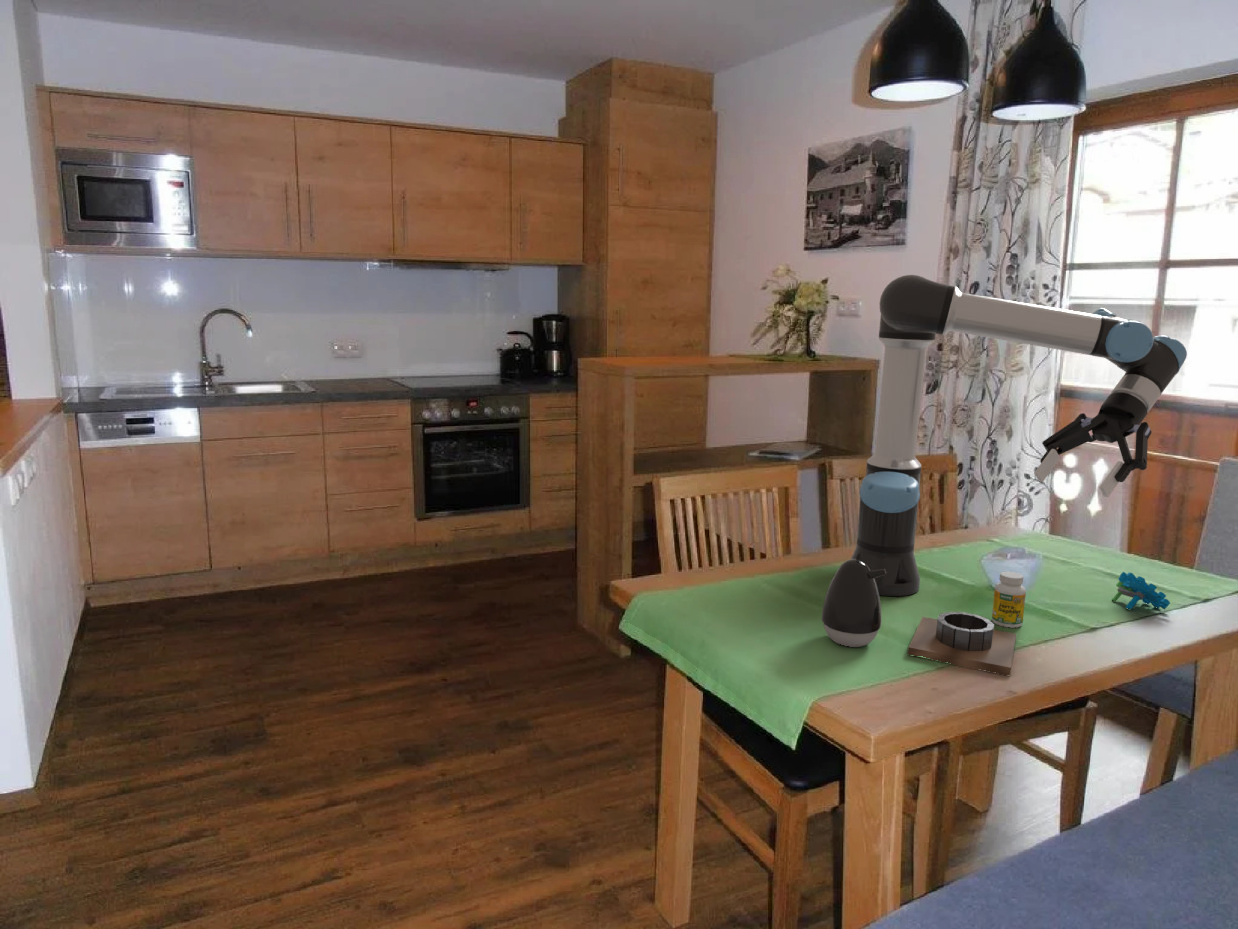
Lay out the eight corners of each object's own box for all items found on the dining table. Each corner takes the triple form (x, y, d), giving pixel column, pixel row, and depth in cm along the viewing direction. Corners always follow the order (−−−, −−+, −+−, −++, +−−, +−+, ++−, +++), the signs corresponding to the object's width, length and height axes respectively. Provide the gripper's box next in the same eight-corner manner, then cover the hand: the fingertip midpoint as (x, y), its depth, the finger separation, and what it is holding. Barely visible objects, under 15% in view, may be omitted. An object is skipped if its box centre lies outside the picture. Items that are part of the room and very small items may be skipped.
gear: (1182, 609, 163) (1151, 574, 162) (1162, 631, 163) (1131, 597, 161) (1138, 596, 174) (1109, 564, 172) (1120, 617, 174) (1090, 585, 172)
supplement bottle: (1020, 619, 161) (1025, 572, 159) (1024, 630, 156) (1030, 581, 154) (989, 616, 162) (994, 568, 160) (992, 626, 157) (998, 577, 155)
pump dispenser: (871, 658, 142) (878, 573, 139) (812, 644, 147) (817, 562, 144) (887, 638, 151) (894, 557, 148) (830, 625, 156) (836, 547, 153)
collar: (932, 644, 145) (934, 625, 144) (939, 626, 153) (941, 608, 152) (989, 655, 141) (991, 635, 140) (993, 636, 148) (995, 618, 148)
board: (907, 655, 144) (908, 647, 143) (921, 624, 157) (922, 616, 157) (1009, 676, 136) (1010, 667, 136) (1015, 641, 150) (1016, 633, 150)
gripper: (1201, 425, 155) (1141, 511, 151) (1076, 408, 177) (1020, 483, 173) (1189, 397, 152) (1126, 485, 148) (1063, 384, 174) (1006, 460, 170)
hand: (1069, 484), depth 161 cm, fingers open, 13 cm apart
